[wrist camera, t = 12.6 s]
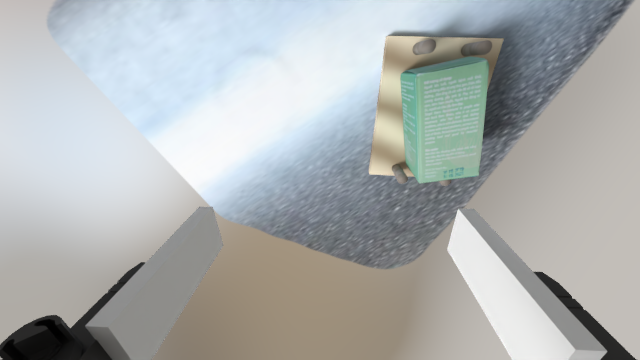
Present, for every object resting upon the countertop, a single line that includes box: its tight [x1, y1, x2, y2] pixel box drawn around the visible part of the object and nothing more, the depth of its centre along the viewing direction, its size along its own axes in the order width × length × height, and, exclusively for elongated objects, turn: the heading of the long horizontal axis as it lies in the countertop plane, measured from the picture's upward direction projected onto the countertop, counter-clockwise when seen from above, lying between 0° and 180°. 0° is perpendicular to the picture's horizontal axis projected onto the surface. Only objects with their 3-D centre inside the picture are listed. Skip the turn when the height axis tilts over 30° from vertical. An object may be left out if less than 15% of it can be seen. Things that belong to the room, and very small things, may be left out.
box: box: [400, 57, 489, 183], centre depth 30 cm, size 7×14×8 cm, turn 12°
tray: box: [369, 36, 504, 186], centre depth 32 cm, size 19×14×5 cm
